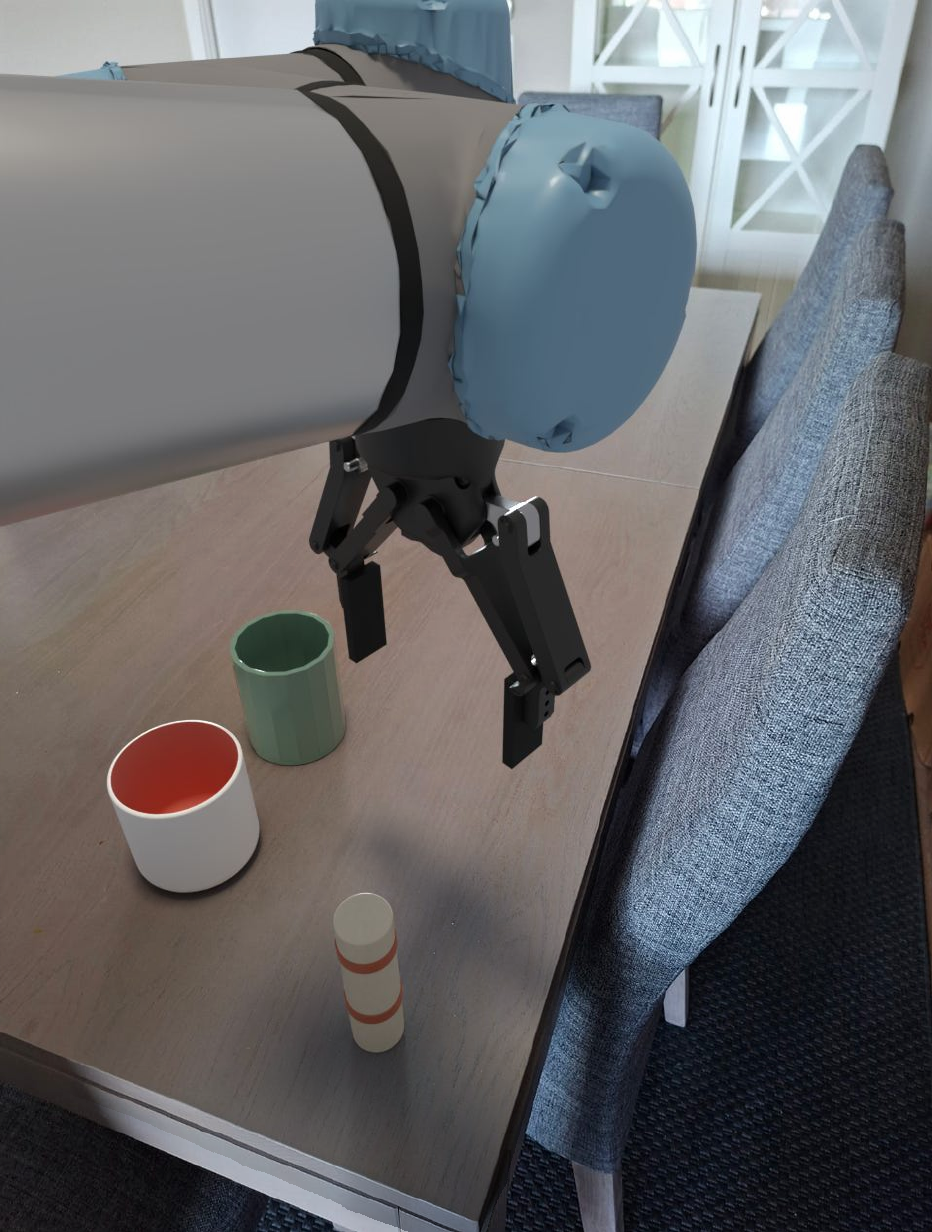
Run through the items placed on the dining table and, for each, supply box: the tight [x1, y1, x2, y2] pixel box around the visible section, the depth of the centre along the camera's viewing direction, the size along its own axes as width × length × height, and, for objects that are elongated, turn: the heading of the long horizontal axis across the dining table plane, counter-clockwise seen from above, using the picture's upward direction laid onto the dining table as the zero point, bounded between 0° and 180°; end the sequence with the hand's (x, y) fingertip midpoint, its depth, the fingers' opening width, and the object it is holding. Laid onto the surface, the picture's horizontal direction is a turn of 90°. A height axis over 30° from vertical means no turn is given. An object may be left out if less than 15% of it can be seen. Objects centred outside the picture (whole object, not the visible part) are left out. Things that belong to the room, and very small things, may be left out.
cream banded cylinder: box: [332, 892, 405, 1054], centre depth 56 cm, size 4×4×13 cm
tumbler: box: [228, 609, 346, 766], centre depth 80 cm, size 9×9×11 cm
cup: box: [106, 719, 260, 894], centre depth 69 cm, size 10×10×10 cm
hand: (440, 699), depth 55 cm, fingers open, 13 cm apart
